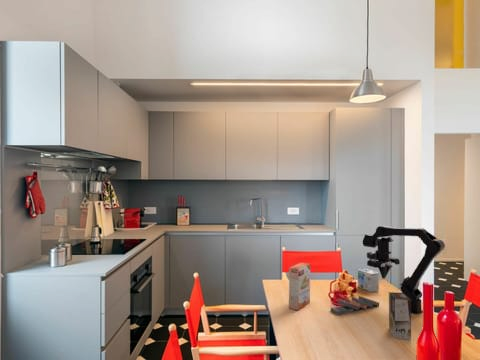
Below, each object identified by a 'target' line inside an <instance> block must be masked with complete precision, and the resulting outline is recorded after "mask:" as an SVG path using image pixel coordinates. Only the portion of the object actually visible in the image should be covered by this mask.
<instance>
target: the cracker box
mask: <svg viewBox="0 0 480 360" xmlns="http://www.w3.org/2000/svg"><path fill="white" fill-rule="evenodd" d="M288 270H289V271H288V274H289V275H288V309H292V310H294V311H295V310H296V311H300V310H301V309H303V308H304V307H306V306H307V305H308V304H310V303H311V264H310V263H306V262H299V263H297V264H295V265H291V266H289V269H288Z"/></svg>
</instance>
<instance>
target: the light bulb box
mask: <svg viewBox="0 0 480 360" xmlns="http://www.w3.org/2000/svg"><path fill="white" fill-rule="evenodd" d="M379 283H380V272H378V271H375V270H371V269H368V268H361V269H360V268H359V269H357V287H358V288H360V289H362V290H366V291H368V292H370V293H371V292H372V293H373V292H376V291H377V292H378V290H379V291H380V288H379V287H380V284H379Z"/></svg>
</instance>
